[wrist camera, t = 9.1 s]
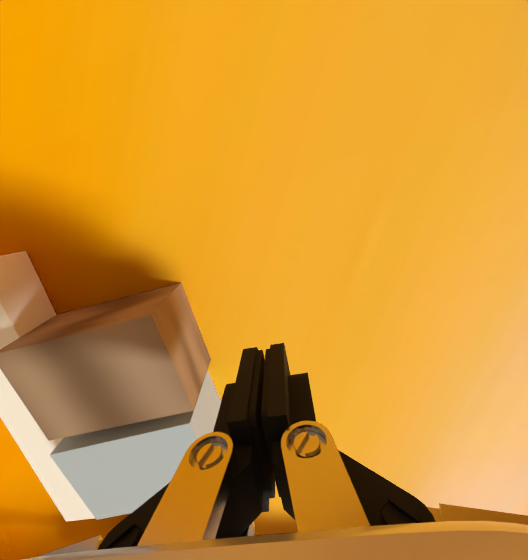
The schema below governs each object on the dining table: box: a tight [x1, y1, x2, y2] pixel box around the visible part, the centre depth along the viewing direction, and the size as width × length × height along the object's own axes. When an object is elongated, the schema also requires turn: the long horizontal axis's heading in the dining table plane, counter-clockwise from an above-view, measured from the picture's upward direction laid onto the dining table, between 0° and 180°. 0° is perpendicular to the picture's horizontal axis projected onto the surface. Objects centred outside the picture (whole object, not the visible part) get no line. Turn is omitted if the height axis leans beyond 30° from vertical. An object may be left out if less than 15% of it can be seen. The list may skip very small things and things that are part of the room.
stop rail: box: [0, 251, 95, 522], centre depth 20 cm, size 4×20×3 cm, turn 11°
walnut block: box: [0, 283, 211, 441], centre depth 17 cm, size 9×6×5 cm, turn 105°
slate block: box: [50, 370, 221, 520], centre depth 20 cm, size 9×6×5 cm, turn 107°
